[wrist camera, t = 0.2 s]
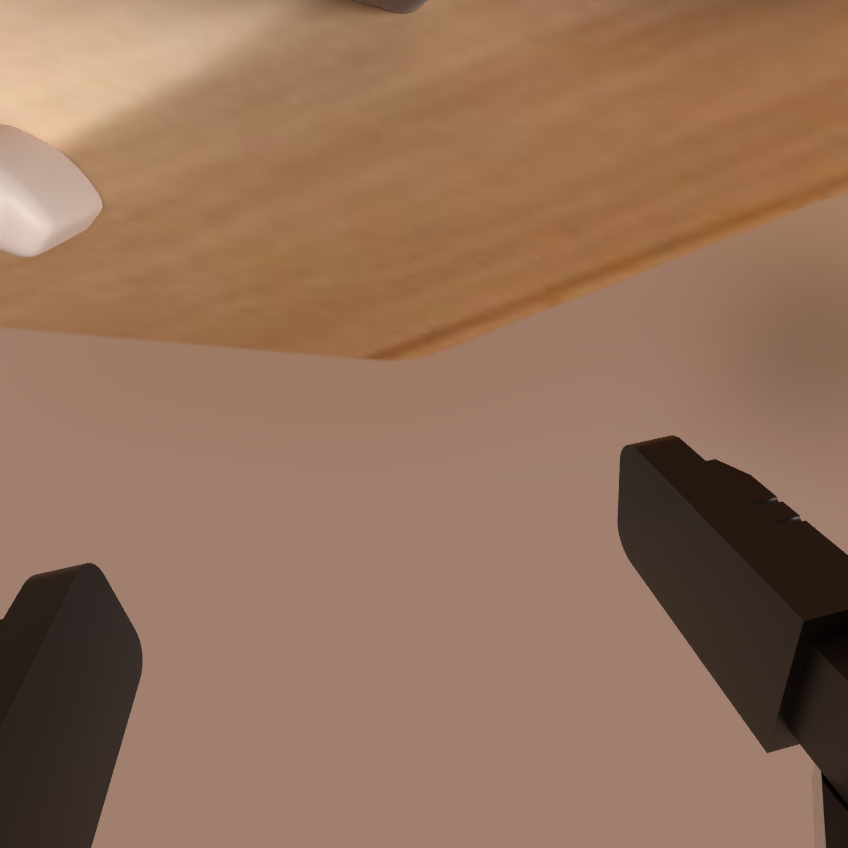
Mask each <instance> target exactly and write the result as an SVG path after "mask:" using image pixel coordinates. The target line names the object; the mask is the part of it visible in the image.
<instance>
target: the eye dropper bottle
mask: <svg viewBox="0 0 848 848" xmlns="http://www.w3.org/2000/svg"><path fill="white" fill-rule="evenodd" d="M102 206H103V205H102V201H101V198H100V196H99V194H98V193H97V191H96V190H95V188H94V187H93V185H92V184H91V182H90V181H89V180H88V179H87V177H86V176H85V175H84V174H83V173H82V172H81V170H80V169H79V168H78V167H77V166H76V165H75V164H74V163H73V162H72V161H70V160H69V159H68V158H67V157H66V156H65V155H63V154H62V153H61V152H60V151H58V150H57V149H55V148H54V147H52V146H51V145H49V144H48V143H46V142H44V141H43V140H41V139H39V138H37V137H35V136H33V135H31V134H29V133H27V132H25V131H22V130H20V129H17V128H14V127H11V126H2V125H0V251H2V252H6V253H9V254H12V255H16V256H21V257H34V256H37V255H39V254H41V253H43V252H45V251H47V250H49V249H51V248H53V247H55V246H57V245H59V244H61V243H63V242H64V241H66V240H68V239H70V238H72V237H74V236H76V235H77V234H79V233H81V232H83V231H84V230H86V229H87V228H88V227H89V226H90V225H91V224H92V222H93V221H94V220H95V218H96V217H97V216H98V214H99V213H100V212H101V209H102Z"/></svg>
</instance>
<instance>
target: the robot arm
mask: <svg viewBox="0 0 848 848" xmlns="http://www.w3.org/2000/svg"><path fill="white" fill-rule="evenodd" d="M618 531H619V536H620V540H621V543H622V546H623V549H624V551H625V553H626V555H627V557H628V559H629V560H630V562H631V563H632V565H633V566H634V568H635V569H636V570H637V572H638V573H639V575H640V576H641V577H642V579H643V580H644V582H645V583H646V584H647V586H648V587H649V589H650V590H651V591H652V593H653V594H654V595H655V597H656V598H657V600H658V601H659V603H660V604H661V605H662V607H663V608H664V610H665V611H666V612H667V614H668V615H669V616H670V618H671V619H672V621H673V622H674V624H675V625H676V626H677V628H678V629H679V630H680V632H681V633H682V635H683V636H684V638H685V639H686V640H687V642H688V643H689V645H690V646H691V647H692V649H693V650H694V651H695V653H696V654H697V656H698V657H699V658H700V660H701V661H702V663H703V664H704V665H705V667H706V668H707V670H708V671H709V672H710V674H711V675H712V677H713V678H714V679H715V681H716V682H717V683H718V685H719V686H720V688H721V689H722V690H723V692H724V693H725V695H726V696H727V698H728V699H729V700H730V702H731V703H732V705H733V706H734V707H735V709H736V710H737V712H738V713H739V714H740V716H741V717H742V719H743V720H744V721H745V723H746V724H747V725H748V727H749V728H750V730H751V731H752V733H753V734H754V735H755V737H756V738H757V740H758V741H759V742H760V744H761V745H762V747H763V748H764V749H765V751H766V752H767V753H769V752H773V751H775V750H780V749H783V748H787V747H790V746H794V745H798V744H800V745H801V746H802V747H803V749H804V750H805V751H806V752H807V754H808V755H809V756H810V757H811V759H812V760H813V761H814V763H815V766H814V769H813V772H812V792H813V810H814V812H813V813H814V831H815V848H848V555H847V554H845V553H844V552H843V551H842V550H841V549H839V548H838V547H837V546H836V545H835V544H833V543H832V542H831V541H830V540H829V539H827V538H826V537H825V536H824V535H822V534H821V533H820V532H819V531H817V530H816V529H815V528H814V527H812V526H811V525H810V524H809V523H808V522H807V521H803V522H802V521H801V519H800V516H799V515H798V514H797V513H796V512H795V511H793V510H792V509H791V508H790V507H789V506H787V505H786V504H785V503H784V502H778V500H777V497H776V496H775V495H774V494H773V493H772V492H770V491H769V490H768V489H767V488H765V487H764V486H763V485H762V484H760V483H759V482H758V481H757V480H756V479H755V478H753V477H752V476H751V475H749V474H747V473H745V472H743V471H740V470H738V469H736V468H734V467H731V466H729V465H727V464H725V463H722V462H720V461H718V460H716V459H714V460H710V461H705V460H704V459H703V458H702V457H700V456H699V455H698V454H697V453H696V452H695V451H694V450H693V449H691V448H690V447H689V446H688V445H687V444H686V443H684V441H682V440H681V439H680V438H678V437H676V436H667V437H663V438H658V439H653V440H649V441H644V442H640V443H635V444H631V445H626V446H625V447H624V448H623V449H622V452H621V456H620V474H619V500H618ZM141 672H142V650H141V644H140V640H139V637H138V634H137V633H136V630H135V629H134V627H133V625H132V623H131V622H130V620H129V618H128V617H127V615H126V613H125V611H124V609H123V607H122V606H121V604H120V602H119V600H118V599H117V597H116V595H115V593H114V592H113V590H112V588H111V586H110V585H109V583H108V581H107V579H106V577H105V576H104V574H103V572H102V571H101V570H100V569H99V567H97V566H96V565H95V564H92V563H86V564H82V565H77V566H73V567H68V568H64V569H59V570H55V571H51V572H46V573H41V574H37V575H33V576H31V577H30V578H29V579H28V580H27V581H26V582H25V583H24V585H23V586H22V588H21V590H20V592H19V593H18V595H17V596H16V598H15V600H14V602H13V603H12V605H11V607H10V608H9V610H8V612H7V613H6V615H5V617H4V618H3V619H1V620H0V848H91V846H92V842H93V839H94V835H95V832H96V829H97V825H98V822H99V818H100V815H101V811H102V808H103V805H104V801H105V798H106V794H107V791H108V788H109V784H110V781H111V777H112V774H113V770H114V767H115V763H116V760H117V757H118V753H119V750H120V746H121V743H122V739H123V736H124V733H125V729H126V726H127V722H128V718H129V715H130V712H131V708H132V705H133V702H134V698H135V694H136V691H137V688H138V684H139V681H140V677H141Z"/></svg>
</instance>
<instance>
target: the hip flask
mask: <svg viewBox="0 0 848 848" xmlns="http://www.w3.org/2000/svg"><path fill="white" fill-rule="evenodd" d="M354 1H358V2H362V3H366V4H369V5H373V6H377V7H380V8H383V9H386V10H389V11H392V12H396V13H400V14H407V13H411V12H414V11H415V10H417V9H419V8H420V7H421V6H422V5H423V4H424V3H425V2H427V1H428V0H354Z"/></svg>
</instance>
